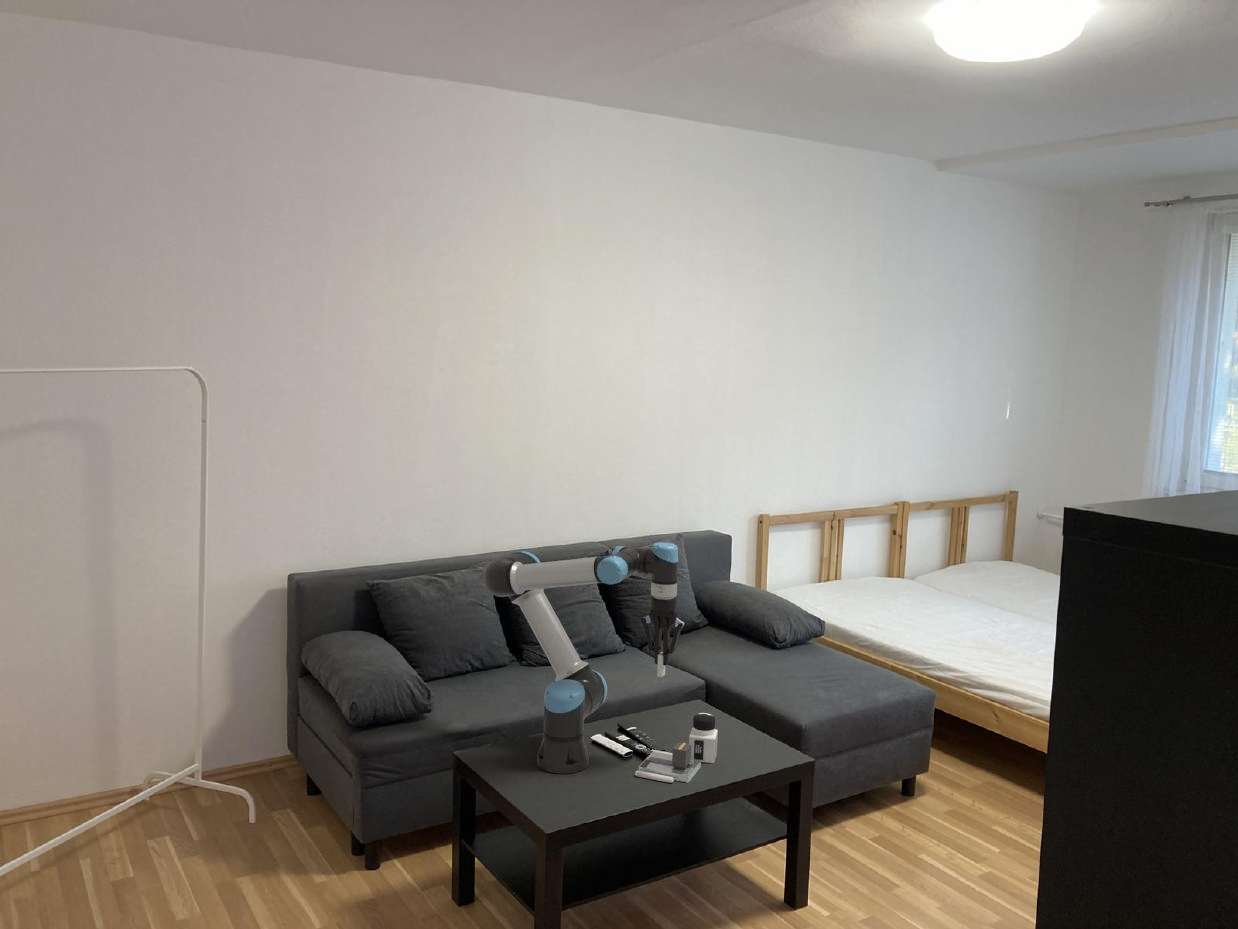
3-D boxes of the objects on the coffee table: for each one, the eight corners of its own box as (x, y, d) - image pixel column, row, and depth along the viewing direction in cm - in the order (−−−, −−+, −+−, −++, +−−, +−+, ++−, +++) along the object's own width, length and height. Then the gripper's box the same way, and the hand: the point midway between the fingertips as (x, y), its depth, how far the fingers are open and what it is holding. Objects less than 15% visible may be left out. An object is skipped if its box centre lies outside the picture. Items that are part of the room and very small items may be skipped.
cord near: (634, 776, 284) (634, 771, 284) (636, 774, 285) (636, 769, 285) (672, 784, 280) (672, 778, 279) (674, 782, 281) (674, 776, 281)
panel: (638, 773, 286) (638, 765, 286) (652, 758, 297) (652, 750, 297) (688, 782, 281) (688, 775, 281) (700, 766, 292) (701, 759, 292)
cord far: (640, 754, 300) (640, 748, 300) (642, 752, 301) (642, 747, 301) (677, 760, 296) (677, 755, 296) (678, 758, 297) (678, 753, 297)
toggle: (672, 765, 286) (672, 748, 285) (677, 759, 291) (678, 742, 290) (685, 768, 284) (686, 750, 284) (690, 761, 289) (691, 744, 289)
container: (714, 763, 294) (715, 721, 293) (688, 761, 296) (689, 718, 294) (716, 753, 302) (718, 712, 300) (691, 751, 303) (693, 709, 302)
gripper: (638, 596, 288) (635, 675, 290) (681, 602, 283) (678, 682, 286) (647, 591, 295) (644, 668, 297) (689, 596, 290) (686, 674, 293)
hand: (661, 675), depth 292 cm, fingers closed
